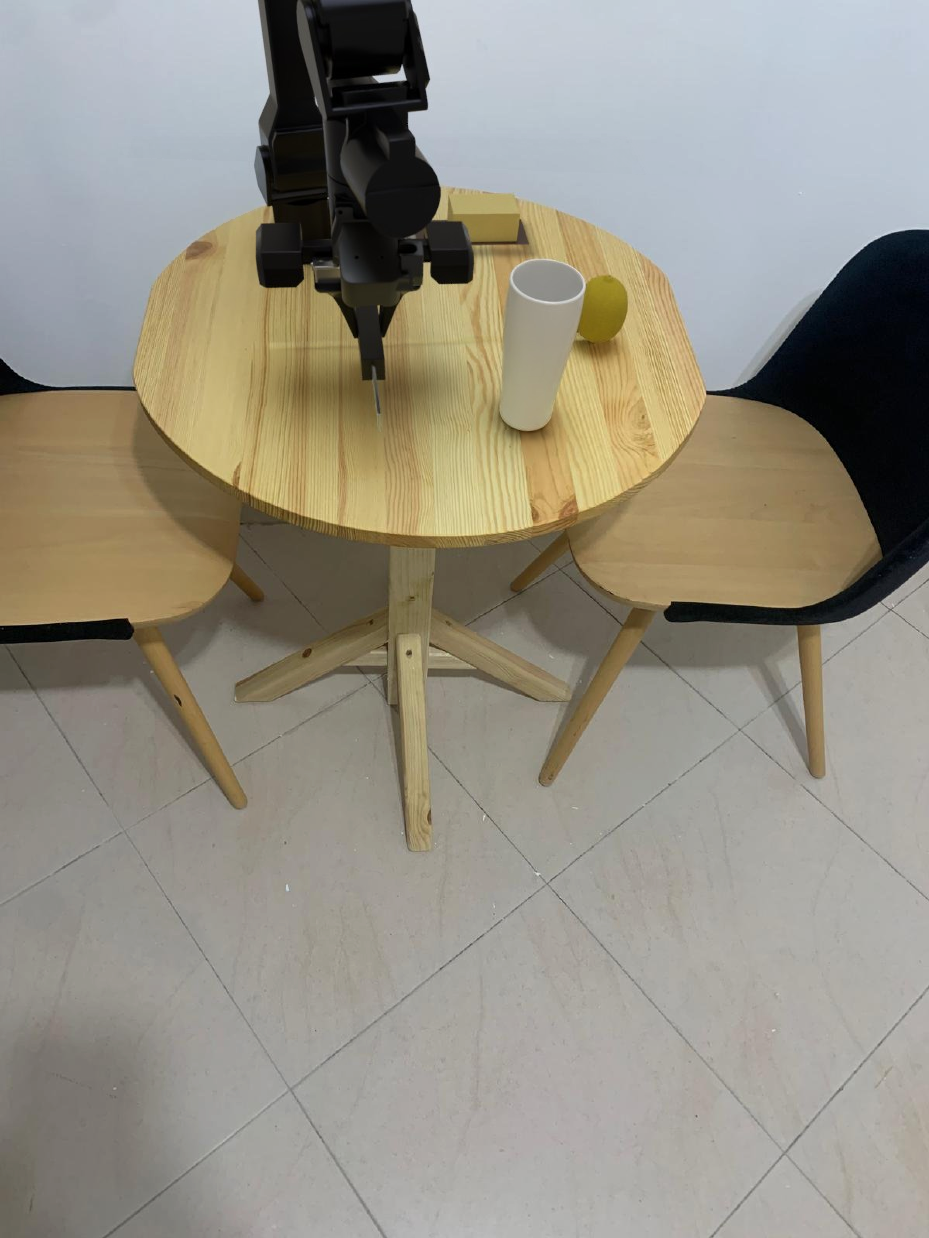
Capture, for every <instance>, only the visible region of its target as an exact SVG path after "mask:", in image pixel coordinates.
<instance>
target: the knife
mask: <svg viewBox="0 0 929 1238" xmlns="http://www.w3.org/2000/svg"><path fill="white" fill-rule="evenodd" d="M355 310H356V316H357V325H358V339H357V346H358V355H359V365H360V375H361V381H362V382H364V381H365V382H366V381H367V382H368V381H371V382H372V391H373V399H374V408H375V416H376V425H377V432H378V433H379V432H382V411H381V402H380V395H379V387H378V381H385V380H386V357H385V349H384V343H383V338H382V334H381V328H380V321H379V305H375V306H361V307H355Z"/></svg>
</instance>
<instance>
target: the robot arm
mask: <svg viewBox="0 0 929 1238" xmlns="http://www.w3.org/2000/svg"><path fill="white" fill-rule="evenodd" d="M412 3H413V2H412V0H257V4H258V12H259V13H258V14H259V20H260V28H261V37H262V44H263V50H264V58H265V66H266V74H267V81H268V89H269V94H268V97H267V98H266V99H267V100H266V101H265V104H264V106H263V108H262V111H261V113H260V116H259V118H258V132H259V141H260V145H257V146H256V148H255V155H254V162H253V168H254V173H255V178H256V183H257V187H258V190H259V192H260V194H261V196H262V198H263V200H264V202H265V204H266V207H271V208H272V217H273V222H261V223H260V224H259V226H257V229H256V230H255V265H256V272H257V277H258V284H259V285H260V286H261V287H263V288H265V289H289V288H290V289H291V288H292V289H293V288H294V289H295V288H298V286H300V284H302V282H303V281H304V280H305V270H304V269H305V268H304V266H311V271H312V272H313V284H314V285H313V287H314V290H315V291H316V292H317V294H327V295H329V296H330V297H332V298H333V300H334V301H335V302H336V304H337V306H338V308H339V310H340V312H341V313H342V316H343V317H344V320H345V323H346V324H347V326H348V329H349V331H350V332H351V335H352V337H353V339H357V340H358V325H357V316H356V310H355V307H361V306H375V305H378V312H379V321H380V328H381V334H382V339H383V338H385V337H386V335H387V333H388V331H389V329H390V328H389V327H390V325H391V322H392V320H393V317H394V315H395V313H396V312H395V311H396V310H397V308H398V306H399V303H400V302H401V301H402V299H403V297H404V296H405V295H407V294H408V293H411V292H418V291H420V289H421V287H422V285H424V284H423V283H424V263H426V264H429V276H430V278H432V279H433V280H434V281H435V282H436V283H437V284H438V285H467V284H469V283H471V282H472V281H474V271H475V252H474V249H473V245H472V244H471V241H470V237H469V233H468V229H467V227H466V226H465V225H464V224H463V222H462V221H431V220H434V218H435V216H436V214H437V212H438V209H439V207H440V203H441V198H442V187H441V185H440V181H439V178H438V175H437V173H436V171H435V170H434V168H433V166H431V164H430V163H429V160H428V159H427V158H426V157H425V155H424V154H423V152H422V151H421V149H420V148H419V147H418V145H417V144H416V143H417V141H416V137H415V135H414V134H413V132H412V131H411V130H410V129H409V113H415V112H423V111H428V110H429V100H428V95H427V93H428V92H427V87H428V85H429V83H430V81H431V77H430V72H429V67H428V63H427V58H426V52H425V49H424V48H425V47H424V44H423V39H422V35H421V29H420V25H419V20H418V17H417V14H416V12H415V11H414V8H413V4H412ZM401 69H402V70H403V73H404V76H405V80H395V81H394V80H393V81H384V82H383V81H382V82H379V81H378V80H377V79H376V78H374V77H378V76H389V75H397V74H399V73H400V72H401ZM421 230H423V238H419V239H416V236H415V234H417V233H418V232H420V231H421Z"/></svg>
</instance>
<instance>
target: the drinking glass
mask: <svg viewBox="0 0 929 1238" xmlns="http://www.w3.org/2000/svg"><path fill="white" fill-rule="evenodd" d="M508 278H509V279H508V283H507V288H506V295H505V301H504V310H503V321H502V322H503V323H502V353H501V384H500V399H499V407H498V410H499V415H500V417H501V419H502V421H504V423H505V424H506V425H508V426H509V427H511V428H513V429H515V430H518V431H523V432H532V431H537V430H540V429H542V428H544V427H545V426H546V425H548V423H549V422H550V421H551V418H552V416H553V411H554V406H555V402H556V399H557V396H558V392H559V389H560V386H561V383H562V380H563V377H564V373H565V370H566V367H567V364H568V361H569V357H570V354H571V353H572V349H573V346H574V342H575V339H576V336H577V332H578V330H577V329H578V325H579V321H580V317H581V312H582V307H583V302H584V295H585V289H586V283H587V282H586V280H585V278H584V276H583V275H582V273H581V272H580V271H579V270H577V269H576V268H575V267H573V265H570V264H568V263H566V262H563V261H561V260H557V259H553V258H552V259H550V258H533V259H532V258H531V259H528V260H525V261H522V262H520V263H519V264H517V265H516V266H514V267H513V268H512V270H511V271H510V273H509V277H508Z"/></svg>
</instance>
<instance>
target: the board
mask: <svg viewBox="0 0 929 1238" xmlns="http://www.w3.org/2000/svg"><path fill="white" fill-rule="evenodd" d="M431 221H447V219H432V220H431ZM415 236H416V239H419V238H423V230H421V231H420V232H418V233H417V234H415ZM471 244H472V246H513V245H515V246H517V245H520V246H522V245H523V246H524V245H530V242H529V239H528V236H527V233H526V230H525V227H524V223H523V221H522V219H521V218H520V219H519V227H518V235H517V241H513V242H471Z"/></svg>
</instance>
